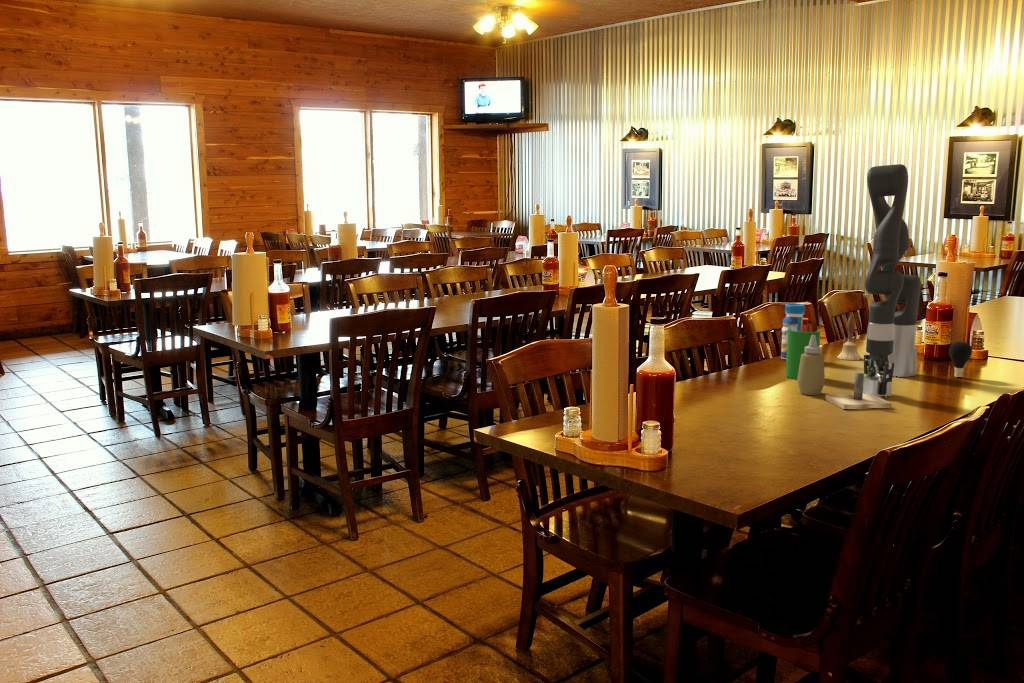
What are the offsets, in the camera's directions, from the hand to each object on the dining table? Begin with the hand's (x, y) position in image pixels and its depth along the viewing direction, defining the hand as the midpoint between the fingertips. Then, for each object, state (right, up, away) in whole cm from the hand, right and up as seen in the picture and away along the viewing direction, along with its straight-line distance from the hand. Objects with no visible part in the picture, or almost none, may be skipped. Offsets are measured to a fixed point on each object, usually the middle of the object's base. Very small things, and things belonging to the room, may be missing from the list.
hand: (876, 392), depth 268 cm
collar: (0, -1, 0) cm, 1 cm away
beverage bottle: (-8, +9, +54) cm, 55 cm away
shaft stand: (-10, -3, -11) cm, 15 cm away
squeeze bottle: (-19, -1, +2) cm, 19 cm away
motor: (-15, +3, +24) cm, 29 cm away
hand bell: (+13, +9, +55) cm, 57 cm away
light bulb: (+36, +3, +22) cm, 42 cm away
